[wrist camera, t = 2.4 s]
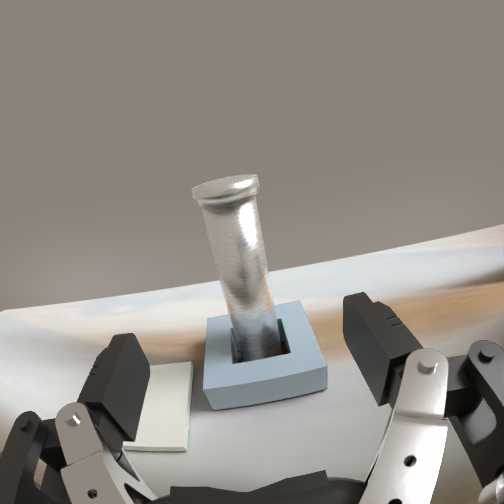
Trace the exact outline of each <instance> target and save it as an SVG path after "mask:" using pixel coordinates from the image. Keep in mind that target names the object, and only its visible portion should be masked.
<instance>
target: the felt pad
mask: <svg viewBox="0 0 504 504" xmlns="http://www.w3.org/2000/svg"><path fill="white" fill-rule="evenodd" d="M193 371H194V365H193V363H192V361H189V362H181V363H172V364H162V365H152V366H150V379H149V383H148V387H147V391H146V395H145V399H144V403H143V408H142V412H141V416H140V421H139V425H138V430H137V434H136V439H135V442H126V441H123V445H122V448H123V449H124V450H139V451H187V446H188V431H189V417H190V404H191V393H192V382H193Z"/></svg>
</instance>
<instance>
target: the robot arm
mask: <svg viewBox="0 0 504 504" xmlns="http://www.w3.org/2000/svg"><path fill="white" fill-rule="evenodd" d="M343 335H344V339H345V342H346V344H347V346H348V348H349V350H350V352H351V354H352V356H353V358H354V360H355V361H356V363H357V365H358V367H359V369H360V371H361V373H362V375H363V377H364V379H365V380H366V382H367V384H368V386H369V388H370V390H371V392H372V394H373V396H374V398H375V400H376V402H377V404H378V406H382V405H384V404H387V403H389V404H390V406H391V408H392V410H391V413H390V416H389V420H388V423H387V426H386V429H385V432H384V435H383V437H382V440H381V443H380V446H379V448H378V451H377V454H376V456H375V459H374V461H373V463H372V466H371V468H370V470H369V472H368V475H367V477H366V479H365V481H364V482H362V481H358V480H354V479H349V478H338V477H329V478H327V475H326V471H325V470H323V471H319V472H315V473H311V474H306V475H301V476H297V477H292V478H286V479H284V480H281V481H279V482H276V483H273V484H271V485H268V486H265V487H262V488H260V489H257V490H254V491H251V492H236V491H228V490H222V489H216V488H211V487H175V486H171V488H170V495H166V496H163V497H160V498H158V497H157V496H156V495H155V494H154V493H153V492H152V491H151V490H150V489H149V488H148V486H147V485H146V484H145V482H144V481H143V479H142V478H141V476H140V475H139V473H138V471H137V470H136V468H135V467H134V465H133V463H132V462H131V460H130V458H129V457H128V455H127V453H126V451H125V450H124V449H123V448H122V445H123V441H126V442H135V439H136V434H137V430H138V425H139V421H140V416H141V412H142V408H143V403H144V399H145V395H146V391H147V387H148V383H149V379H150V366H149V363H148V360H147V358H146V356H145V354H144V352H143V350H142V348H141V346H140V344H139V342H138V340H137V338H136V336H135V335H134V334H133V333H127V334H117V335H114V336H113V338H112V340H111V342H110V344H109V346H108V348H105V349H104V350H103V351H102V352H101V353H100V354H99V355H98V356H97V358H96V360H95V362H94V365H93V368H92V369H91V371H90V373H89V374H90V375H89V376H88V377H87V380H86V382H85V384H84V386H83V388H82V391H81V393H80V395H79V398H78V400H77V402H74V403H70V404H67V405H66V406H64V407H63V408H62V409H61V410H60V411H59V412H58V414H57V416H56V418H54V419H48V420H43V421H42V420H41V418H40V417H39V416H38V415H37V414H36V413H35V412H32V411H27V412H24V413H22V414H21V415H20V416H19V417H18V418H17V419H16V420H15V422H14V425H13V427H12V429H11V432H10V434H9V436H8V439H7V441H6V444H5V447H4V449H3V452H2V455H1V457H0V504H429V502H430V499H431V496H432V493H433V489H434V486H435V482H436V479H437V475H438V471H439V467H440V463H441V459H442V454H443V449H444V444H445V439H446V433H447V426H448V422H447V419H444V418H446V417H448V418H449V420H450V422H451V423H452V425H453V427H454V429H455V431H456V433H457V435H458V437H459V439H460V441H461V442H462V444H463V446H464V448H465V450H466V452H467V454H468V457H469V459H470V461H471V463H472V465H473V467H474V469H475V471H476V474H477V476H478V478H479V480H480V482H481V485H482V487H483V490H482V492H481V494H480V496H479V500H478V504H504V351H503V350H502V349H501V348H500V347H499V346H498V345H497V344H495V343H494V342H491V341H488V340H480V341H477V342H475V343H473V344H472V345H471V347H470V349H469V351H468V354H467V355H463V356H456V357H450V358H446V357H445V356H444V355H443V354H442V353H441V352H439V351H437V350H434V349H430V348H423V347H422V345H421V344H420V343H419V342H418V340H417V339H416V338H415V337H414V336H413V334H412V333H411V332H410V331H409V329H408V328H407V327H406V326H405V325H404V324H403V323H402V321H401V320H400V319H399V318H398V317H397V315H396V314H395V313H394V312H393V311H392V309H391V308H390V307H388V306H386V305H385V304H383V303H381V302H379V301H378V302H374V303H373V302H372V301H371V300H370V298H369V297H368V296H367V295H366V293H364V292H361V293H357V294H353V295H348V296H345V297H344V299H343ZM483 399H485V401H486V402H487V404H488V405H489V407H490V408H491V410H492V411H493V413H494V415H495V417H496V419H495V417H494V415H493V414H492V412H491V411H490V409H489V407H488V406H487V404H486V403H485V401H484V400H483ZM39 458H40V459H41V460H42V461H44V462H45V463H46V464H47V466H46V470H45V474H44V477H43V481H42V485H41V490H39V489H37V488H36V486H35V484H34V480H33V478H34V474H35V470H36V467H37V463H38V460H39Z"/></svg>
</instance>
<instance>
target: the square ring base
mask: <svg viewBox="0 0 504 504" xmlns="http://www.w3.org/2000/svg"><path fill="white" fill-rule="evenodd" d="M275 312H276V318H277V324H278V330H279V337H280V342H282V341H285V344H286V347H287V351H288V354H284V355H279V356H275V357H270V358H265V359H259V360H254V361H248V362H243V363H238V361H237V350H239V348H238V344H237V341H236V337H235V334H234V330H233V327H232V323H231V320H230V316H229V315H223V316H218V317H212V318H208V319H207V332H206V346H205V361H204V377H203V391H204V393H205V395H206V397H207V399H208V401H209V403H210V405H211V407H212V409H213V410H219V409H227V408H234V407H241V406H248V405H254V404H260V403H265V402H271V401H276V400H281V399H286V398H291V397H295V396H300V395H304V394H308V393H312V392H316V391H320V390H324V389H327V364H326V361H325V359H324V356H323V354H322V352H321V349H320V347H319V344H318V342H317V340H316V337H315V335H314V332H313V330H312V328H311V325H310V323H309V321H308V318H307V316H306V314H305V311H304V309H303V307H302V304H301V302H300V300H298V301H294V302H289V303H284V304H280V305H275Z"/></svg>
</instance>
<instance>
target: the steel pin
mask: <svg viewBox="0 0 504 504" xmlns="http://www.w3.org/2000/svg"><path fill="white" fill-rule="evenodd" d="M259 191H260V188H259V182H258V177H257V175H255V174H245V175H237V176H230V177H225V178H220V179H216V180H212V181H209V182H205V183H203V184H200V185H197V186H195V187H193V188H192V194H193V198H194V202H195V204H196V205H199V206H201V207H202V211H203V215H204V219H205V224H206V228H207V232H208V236H209V240H210V244H211V248H212V252H213V256H214V260H215V263H216V268H217V272H218V275H219V279H220V283H221V287H222V290H223V294H224V298H225V302H226V305H227V309H228V313H229V316H230V320H231V323H232V327H233V330H234V334H235V337H236V341H237V344H238V348H239V351H240V355H241V358H242V361H243V362H248V361H254V360H259V359H265V358H270V357H275V356H279V355H282V349H281V343H280V337H279V330H278V324H277V318H276V312H275V306H274V301H273V295H272V289H271V283H270V277H269V271H268V265H267V260H266V254H265V248H264V243H263V237H262V231H261V226H260V221H259V215H258V209H257V203H256V198H255V194H257V193H258V192H259Z"/></svg>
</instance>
